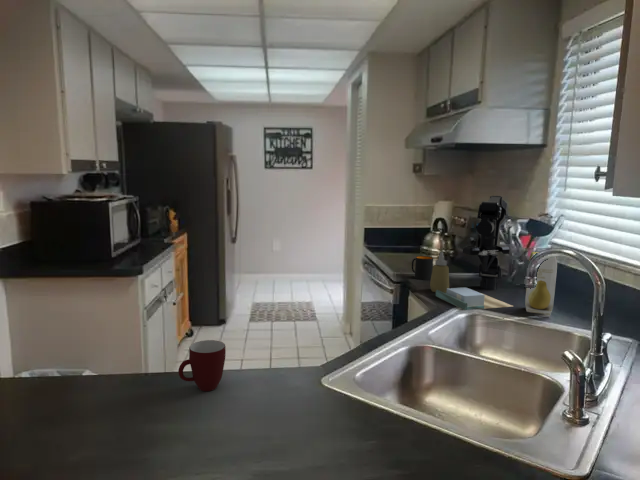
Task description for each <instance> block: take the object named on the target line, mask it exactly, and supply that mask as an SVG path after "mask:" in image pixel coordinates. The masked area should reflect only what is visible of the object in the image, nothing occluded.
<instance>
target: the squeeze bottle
mask: <svg viewBox="0 0 640 480" xmlns="http://www.w3.org/2000/svg"><path fill="white" fill-rule="evenodd" d="M447 263H448V261H447V260H445V256H444V252H443V251H440V252H439V256H438V259H436V260H435V264H433V269H432V276H431V280H430V282H429V286H430V287H429V288H430V290H431V292H432V293H436V290H439V291H442V292H444V293H447V288H450V271H449V270H450V269H449V266H448V264H447Z"/></svg>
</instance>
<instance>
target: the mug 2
mask: <svg viewBox="0 0 640 480" xmlns="http://www.w3.org/2000/svg"><path fill="white" fill-rule="evenodd" d="M414 262H415V265H414ZM433 266H434V257H432V256H429V255H427V256H425V255H418V256H416V257H415V258H413V259H412V260H411V270H412V272H413V273H414V279H416V280H419V281H431V276H432V269H433Z"/></svg>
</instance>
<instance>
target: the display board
mask: <svg viewBox="0 0 640 480" xmlns="http://www.w3.org/2000/svg"><path fill="white" fill-rule="evenodd" d="M446 293H447V292H446ZM446 293H444V292H442V291H439V290H436V292H435V297H437V298H439V299H441V300H442V301H445V302H447V303H449V304H451V305H453V306H456V307H457V308H459V309H461V310H463V311H470V310H482V309H483V310H485V309H486V310H487V309H497V308H510V307H513V308H514V305H512V304H509V303H507V302H504V301H502V300H499V299H496V298H494V297H492V296H489V295H487V294H485V293H481V292H480V293H481V294H484V295H485V298H484V305H478V306H467V303H466V302H464V301H461V300H459V299H457V298H455V297H453V296H450V295H448V294H446Z"/></svg>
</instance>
